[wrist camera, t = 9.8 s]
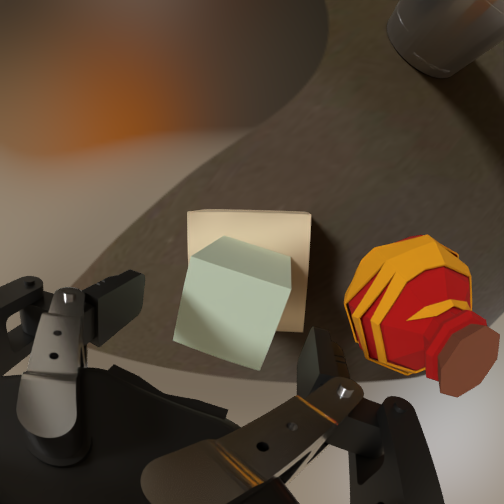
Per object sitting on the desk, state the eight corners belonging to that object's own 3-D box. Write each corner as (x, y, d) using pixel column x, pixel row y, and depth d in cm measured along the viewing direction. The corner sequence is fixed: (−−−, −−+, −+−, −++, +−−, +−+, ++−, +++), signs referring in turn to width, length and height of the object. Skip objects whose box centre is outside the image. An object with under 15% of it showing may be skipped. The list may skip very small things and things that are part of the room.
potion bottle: (435, 228, 22) (549, 262, 7) (418, 327, 24) (491, 418, 9) (335, 219, 23) (404, 251, 8) (324, 328, 25) (350, 449, 10)
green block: (224, 235, 20) (190, 256, 13) (290, 256, 19) (291, 289, 13) (207, 296, 21) (173, 340, 14) (269, 317, 21) (259, 370, 14)
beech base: (206, 209, 25) (187, 211, 20) (306, 211, 24) (311, 214, 19) (208, 302, 26) (191, 323, 22) (300, 308, 25) (302, 332, 20)
